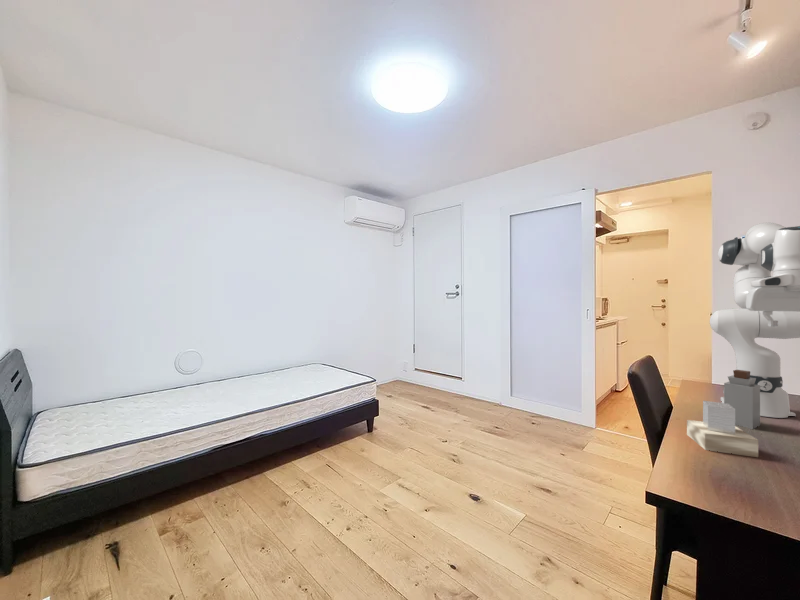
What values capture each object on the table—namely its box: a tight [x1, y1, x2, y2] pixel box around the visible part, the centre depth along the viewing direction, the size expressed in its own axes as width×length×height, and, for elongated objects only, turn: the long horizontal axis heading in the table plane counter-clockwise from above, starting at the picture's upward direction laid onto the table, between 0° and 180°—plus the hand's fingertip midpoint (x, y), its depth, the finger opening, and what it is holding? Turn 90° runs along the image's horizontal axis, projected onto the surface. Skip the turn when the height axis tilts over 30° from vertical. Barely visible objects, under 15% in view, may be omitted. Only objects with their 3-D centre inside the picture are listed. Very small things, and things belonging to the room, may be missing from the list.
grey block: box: [702, 400, 736, 434], centre depth 91 cm, size 6×6×7 cm
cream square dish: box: [686, 419, 759, 458], centre depth 91 cm, size 11×11×5 cm
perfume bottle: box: [723, 369, 761, 430], centre depth 107 cm, size 7×7×18 cm
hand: (796, 327), depth 93 cm, fingers open, 8 cm apart
